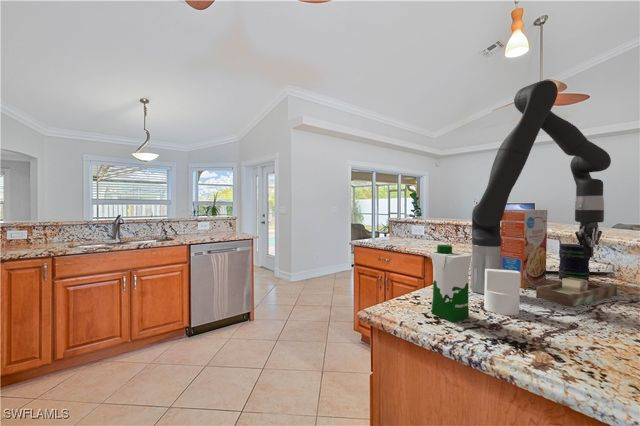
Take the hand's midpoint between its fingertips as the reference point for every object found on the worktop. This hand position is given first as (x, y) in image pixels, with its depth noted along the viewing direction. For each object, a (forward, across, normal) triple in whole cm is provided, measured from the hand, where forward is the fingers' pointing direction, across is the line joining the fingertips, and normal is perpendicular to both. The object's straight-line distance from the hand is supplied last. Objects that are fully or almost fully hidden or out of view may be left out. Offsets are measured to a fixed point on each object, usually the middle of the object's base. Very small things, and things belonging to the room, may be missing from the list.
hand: (588, 257), depth 101 cm
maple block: (+11, -8, 0) cm, 14 cm away
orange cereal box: (+13, -4, +20) cm, 24 cm away
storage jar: (+14, +18, +12) cm, 26 cm away
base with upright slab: (+13, -44, +3) cm, 46 cm away
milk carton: (+13, -62, +5) cm, 64 cm away
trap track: (+13, -6, 0) cm, 15 cm away
